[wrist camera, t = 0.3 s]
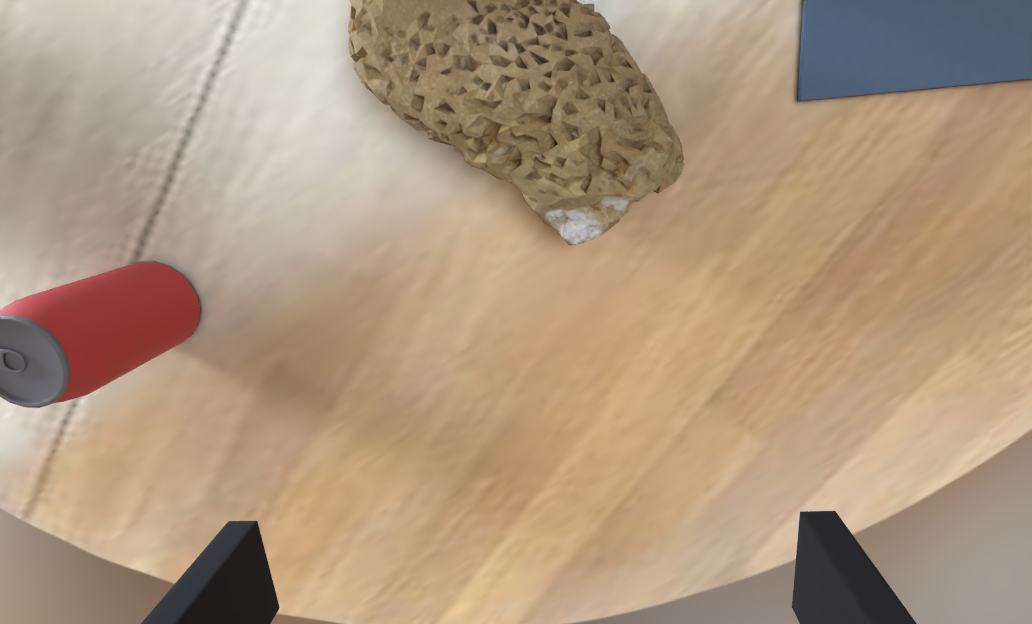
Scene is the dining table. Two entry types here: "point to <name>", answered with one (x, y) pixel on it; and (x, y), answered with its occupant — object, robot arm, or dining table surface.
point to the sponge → (524, 100)
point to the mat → (911, 45)
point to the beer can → (92, 332)
